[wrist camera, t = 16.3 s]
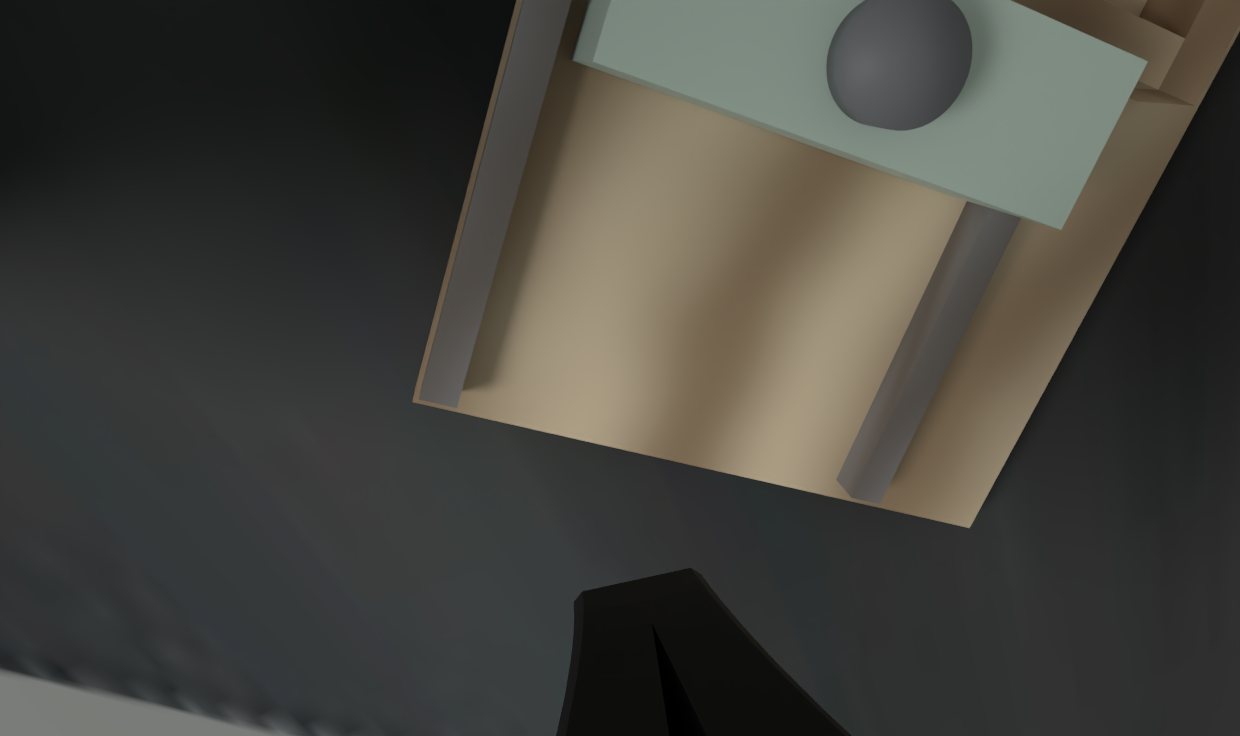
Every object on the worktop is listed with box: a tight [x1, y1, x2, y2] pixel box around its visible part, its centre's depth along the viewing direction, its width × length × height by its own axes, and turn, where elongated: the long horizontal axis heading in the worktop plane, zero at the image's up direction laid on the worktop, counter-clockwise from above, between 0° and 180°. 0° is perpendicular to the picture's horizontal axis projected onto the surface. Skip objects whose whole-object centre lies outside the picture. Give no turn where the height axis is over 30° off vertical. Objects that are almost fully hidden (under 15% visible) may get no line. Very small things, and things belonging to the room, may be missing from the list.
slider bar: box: [570, 0, 1148, 230], centre depth 14 cm, size 9×3×4 cm, turn 72°
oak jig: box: [412, 0, 1240, 528], centre depth 15 cm, size 15×22×2 cm
